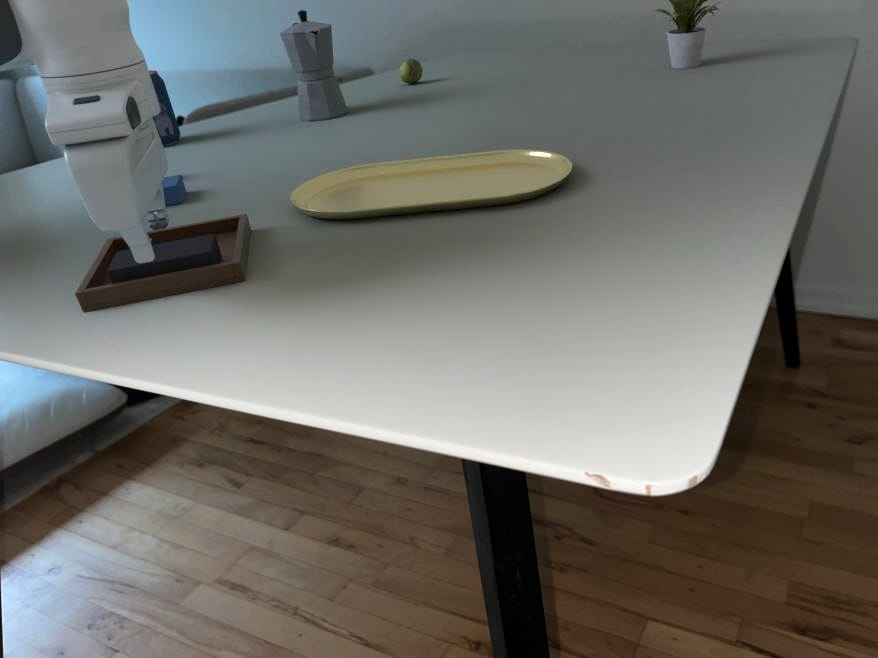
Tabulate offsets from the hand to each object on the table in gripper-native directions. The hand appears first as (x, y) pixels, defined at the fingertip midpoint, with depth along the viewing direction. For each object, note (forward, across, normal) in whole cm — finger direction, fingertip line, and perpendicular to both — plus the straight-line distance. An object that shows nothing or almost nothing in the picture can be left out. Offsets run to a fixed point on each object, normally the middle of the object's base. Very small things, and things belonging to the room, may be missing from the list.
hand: (154, 242), depth 75 cm
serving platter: (+4, -13, +30) cm, 33 cm away
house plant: (+3, -59, +87) cm, 106 cm away
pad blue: (+4, -30, -7) cm, 31 cm away
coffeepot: (+4, -71, +19) cm, 74 cm away
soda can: (+5, -68, -10) cm, 69 cm away
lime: (+4, -87, +39) cm, 96 cm away
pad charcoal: (+4, 0, 0) cm, 4 cm away
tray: (+4, -3, 0) cm, 5 cm away
